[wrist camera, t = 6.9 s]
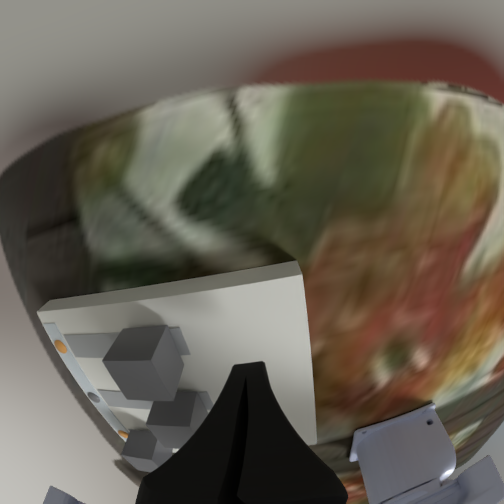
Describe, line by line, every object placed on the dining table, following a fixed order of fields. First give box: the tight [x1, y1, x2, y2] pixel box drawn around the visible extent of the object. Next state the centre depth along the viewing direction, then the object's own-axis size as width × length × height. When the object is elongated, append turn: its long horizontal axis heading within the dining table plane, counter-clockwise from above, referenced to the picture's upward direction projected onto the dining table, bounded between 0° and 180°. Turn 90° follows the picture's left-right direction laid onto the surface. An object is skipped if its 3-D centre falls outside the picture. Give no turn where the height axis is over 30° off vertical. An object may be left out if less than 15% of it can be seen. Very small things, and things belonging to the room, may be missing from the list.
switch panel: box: [37, 260, 317, 452], centre depth 18 cm, size 18×17×2 cm
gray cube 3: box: [102, 325, 184, 401], centre depth 13 cm, size 3×3×3 cm
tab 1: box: [121, 430, 173, 472], centre depth 17 cm, size 3×3×3 cm
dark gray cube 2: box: [145, 391, 209, 449], centre depth 15 cm, size 3×3×3 cm
